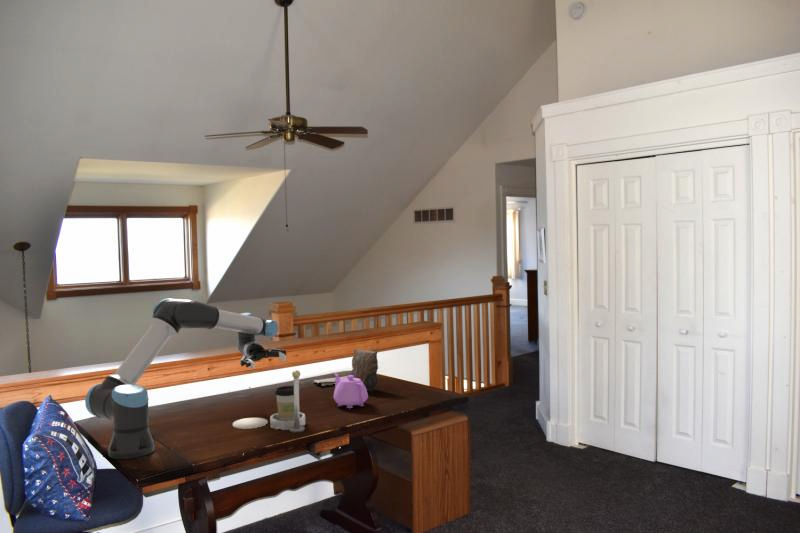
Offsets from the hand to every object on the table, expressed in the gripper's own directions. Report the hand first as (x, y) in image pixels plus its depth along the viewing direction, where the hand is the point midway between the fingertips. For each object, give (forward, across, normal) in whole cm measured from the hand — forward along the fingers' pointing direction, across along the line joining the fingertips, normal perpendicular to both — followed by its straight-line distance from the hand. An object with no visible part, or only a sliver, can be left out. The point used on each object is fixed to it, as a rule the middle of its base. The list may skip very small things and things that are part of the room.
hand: (269, 362), depth 259 cm
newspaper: (-46, -54, -36) cm, 79 cm away
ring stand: (+15, 0, -24) cm, 28 cm away
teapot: (-2, -35, -30) cm, 46 cm away
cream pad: (+3, +12, -23) cm, 26 cm away
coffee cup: (+12, 0, -24) cm, 27 cm away
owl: (-23, -52, -33) cm, 66 cm away
